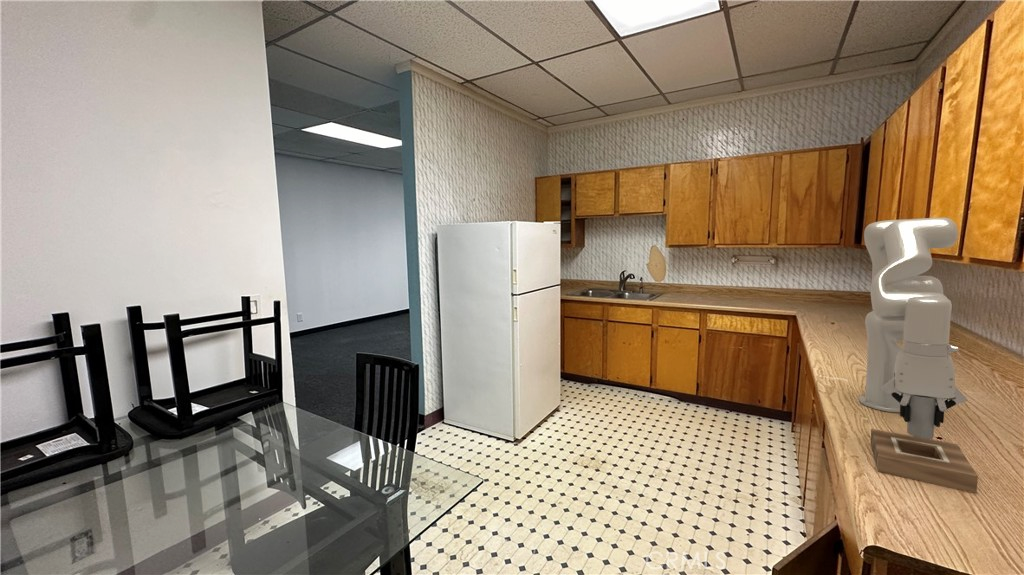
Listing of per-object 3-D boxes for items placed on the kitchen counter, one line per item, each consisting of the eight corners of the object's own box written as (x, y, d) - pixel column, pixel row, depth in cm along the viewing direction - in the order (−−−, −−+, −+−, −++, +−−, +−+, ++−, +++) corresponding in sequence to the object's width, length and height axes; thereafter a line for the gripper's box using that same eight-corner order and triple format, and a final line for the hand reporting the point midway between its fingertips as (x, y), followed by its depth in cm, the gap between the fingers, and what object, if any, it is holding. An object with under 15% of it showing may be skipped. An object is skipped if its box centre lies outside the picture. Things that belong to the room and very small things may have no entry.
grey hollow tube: (905, 428, 101) (908, 389, 99) (931, 433, 98) (934, 392, 97) (908, 436, 97) (910, 395, 96) (935, 441, 94) (937, 398, 93)
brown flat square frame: (870, 442, 110) (871, 428, 109) (956, 459, 100) (957, 443, 100) (877, 471, 97) (878, 455, 97) (976, 493, 88) (977, 475, 87)
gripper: (973, 349, 93) (967, 424, 95) (875, 341, 103) (872, 409, 105) (983, 357, 87) (977, 437, 89) (879, 348, 97) (875, 420, 99)
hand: (920, 421), depth 97 cm, fingers closed on grey hollow tube, 4 cm apart
